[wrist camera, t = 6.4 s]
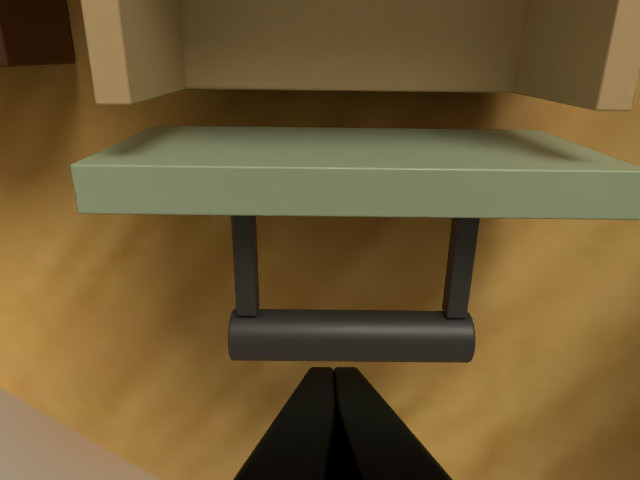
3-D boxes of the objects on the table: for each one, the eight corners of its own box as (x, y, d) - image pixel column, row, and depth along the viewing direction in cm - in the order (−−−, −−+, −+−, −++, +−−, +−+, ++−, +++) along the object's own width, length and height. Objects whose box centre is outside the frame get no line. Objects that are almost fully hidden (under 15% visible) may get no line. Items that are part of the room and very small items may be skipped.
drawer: (512, 288, 19) (596, 391, 14) (171, 284, 19) (107, 387, 14) (629, -404, 12) (905, -810, 7) (97, -414, 12) (-103, -831, 7)
